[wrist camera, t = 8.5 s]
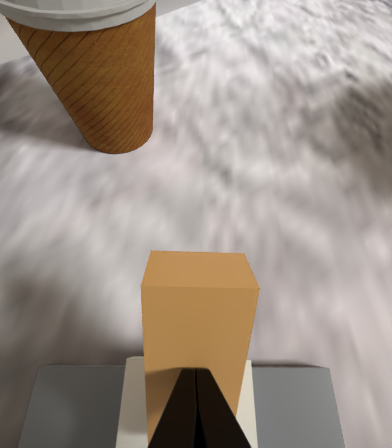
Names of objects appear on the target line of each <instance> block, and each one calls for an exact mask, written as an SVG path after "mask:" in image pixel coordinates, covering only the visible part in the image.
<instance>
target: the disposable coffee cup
mask: <svg viewBox="0 0 392 448" xmlns="http://www.w3.org/2000/svg"><path fill="white" fill-rule="evenodd" d="M156 1H157V0H0V13H1V14H2V15H4V16H5V17H6V19H7V20H8V22H9V24H10V25H11V27H12V28H13V30H14V31H15V33H16V34H17V35H18V37H19V39H20V40H21V42H22V43H23V45H24V46H25V48H26V49H27V51H28V52H29V54H30V55H31V57H32V58H33V60H34V61H35V62H36V65H37V66H38V68H39V69H40V71H41V72H42V74H43V75H44V77H45V78H46V80H47V81H48V83H49V84H50V86H51V87H52V89H53V91H54V92H55V93H56V95H57V96H58V98H59V100H60V101H61V102H62V104H63V106H64V107H65V109H66V110H67V112H68V113H69V115H70V116H71V117H72V119H73V121H74V122H75V123H76V125H77V127H78V128H79V130H80V131H81V133H82V134H83V136H84V138H85V139H86V141H87V142H88V143H89V144H90V145H91V146H92V147H94V148H95V149H97V150H99V151H102V152H106V153H113V154H118V153H126V152H130V151H132V150H135V149H137V148H139V147H141V146H142V145H143V144H144V143H145V142H147V140H148V139H149V138H150V136H151V134H152V130H153V94H154V53H155V16H156V10H155V9H156Z"/></svg>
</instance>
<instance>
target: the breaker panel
mask: <svg viewBox="0 0 392 448" xmlns="http://www.w3.org/2000/svg"><path fill="white" fill-rule="evenodd" d="M236 419H237V421H238V423H239V425H240V427H241V428H242V430H243V432H244V434H245V436H246V438H247V439H248V441H249V443H250V445H251V447H252V448H345V445H344V440H343V435H342V430H341V425H340V420H339V415H338V410H337V405H336V400H335V395H334V390H333V385H332V380H331V375H330V370H329V368H325V367H319V366H251V360H250V359H247V360H246V365H245V370H244V376H243V381H242V387H241V392H240V397H239V403H238V408H237V414H236ZM147 447H148V437H147V415H146V392H145V369H144V356H134V357H130V358H127V359H126V365H72V364H48V365H42V366H38V370H37V374H36V378H35V381H34V385H33V389H32V393H31V397H30V401H29V405H28V408H27V412H26V416H25V420H24V424H23V428H22V431H21V435H20V439H19V443H18V447H17V448H147Z"/></svg>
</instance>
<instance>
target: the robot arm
mask: <svg viewBox="0 0 392 448" xmlns="http://www.w3.org/2000/svg"><path fill="white" fill-rule="evenodd" d="M147 448H252V447H251V445H250V443H249V441H248V439H247V438H246V436H245V434H244V432H243V430H242V428H241V427H240V425H239V423H238V421H237V419H236V417H235V415H234V414H233V412H232V410H231V408H230V406H229V404H228V402H227V401H226V399H225V397H224V395H223V393H222V391H221V390H220V388H219V386H218V384H217V382H216V380H215V378H214V377H213V375H212V373H211V371H210V370H209V369H208V368H197V369H196V371H195V369H194V368H183V369H182V370H181V371H180V373H179V376H178V378H177V380H176V383H175V385H174V387H173V390H172V392H171V394H170V397H169V399H168V401H167V403H166V406H165V408H164V410H163V413H162V415H161V417H160V420H159V422H158V424H157V426H156V429H155V431H154V433H153V436H152V438H151V440H150V443H149V445H148V447H147Z"/></svg>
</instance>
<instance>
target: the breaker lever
mask: <svg viewBox="0 0 392 448" xmlns="http://www.w3.org/2000/svg"><path fill="white" fill-rule="evenodd" d="M259 289H260V288H259V286H258V284H257V281H256V279H255V277H254V274H253V272H252V270H251V268H250V265H249V263H248V261H247V258H246V256H245V254H244V253H211V252H178V251H151V253H150V256H149V260H148V263H147V266H146V270H145V273H144V277H143V280H142V284H141V301H142V323H143V346H144V369H145V392H146V415H147V437H148V445H149V443H150V440H151V438H152V436H153V433H154V431H155V429H156V426H157V424H158V422H159V420H160V417H161V415H162V413H163V410H164V408H165V406H166V403H167V401H168V399H169V397H170V394H171V392H172V390H173V387H174V385H175V383H176V380H177V378H178V376H179V373H180V371H181V370H182V369H183V368H194V369H195V371H196V369H197V368H208V369H209V370H210V371H211V373H212V375H213V377H214V378H215V380H216V382H217V384H218V386H219V388H220V390H221V391H222V393H223V395H224V397H225V399H226V401H227V402H228V404H229V406H230V408H231V410H232V412H233V414H234V415H235V417H236V414H237V408H238V403H239V397H240V392H241V387H242V381H243V376H244V370H245V365H246V360H247V354H248V349H249V343H250V338H251V333H252V327H253V322H254V316H255V311H256V306H257V300H258V295H259Z"/></svg>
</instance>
